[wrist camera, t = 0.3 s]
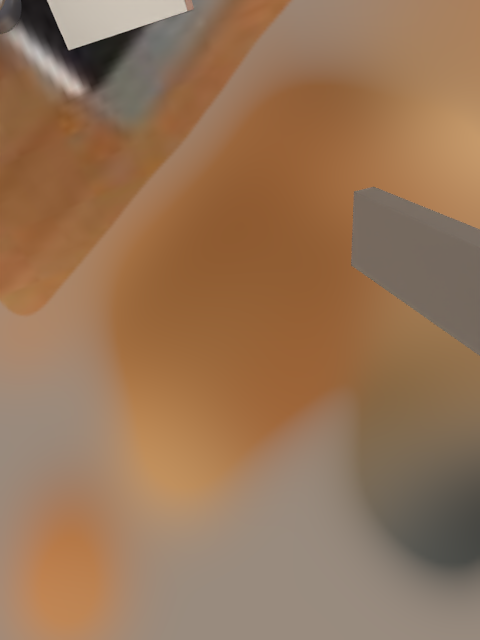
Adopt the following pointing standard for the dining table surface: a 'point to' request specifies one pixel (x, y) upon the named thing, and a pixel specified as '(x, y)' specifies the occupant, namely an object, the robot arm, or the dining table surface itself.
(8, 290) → the dining table surface
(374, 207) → the robot arm
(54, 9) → the sheet
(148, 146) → the dining table surface
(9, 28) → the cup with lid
